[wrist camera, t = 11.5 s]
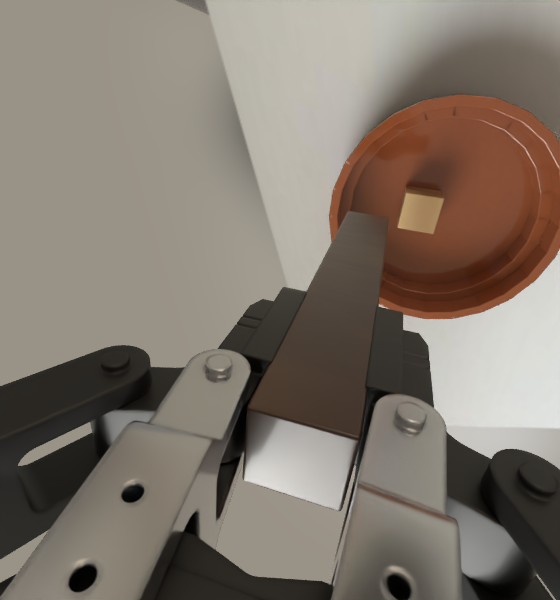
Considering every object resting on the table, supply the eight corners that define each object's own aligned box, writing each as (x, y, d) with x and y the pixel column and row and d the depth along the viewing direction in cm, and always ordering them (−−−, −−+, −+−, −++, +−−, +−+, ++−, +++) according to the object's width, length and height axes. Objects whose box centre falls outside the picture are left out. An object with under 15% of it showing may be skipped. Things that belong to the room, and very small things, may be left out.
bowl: (324, 274, 40) (315, 295, 36) (357, 84, 32) (350, 82, 28) (503, 311, 37) (516, 339, 33) (592, 109, 28) (625, 111, 24)
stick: (341, 249, 20) (241, 481, 8) (347, 210, 19) (245, 406, 7) (380, 256, 19) (341, 514, 7) (389, 217, 18) (361, 439, 6)
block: (397, 218, 35) (397, 228, 33) (405, 185, 34) (406, 192, 31) (431, 224, 35) (433, 234, 32) (441, 190, 33) (444, 198, 31)
